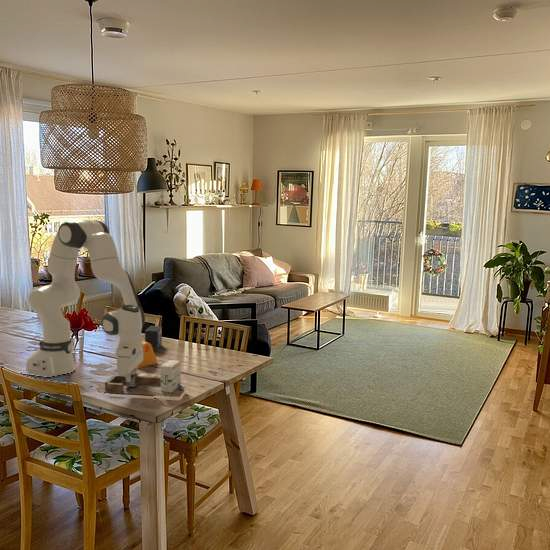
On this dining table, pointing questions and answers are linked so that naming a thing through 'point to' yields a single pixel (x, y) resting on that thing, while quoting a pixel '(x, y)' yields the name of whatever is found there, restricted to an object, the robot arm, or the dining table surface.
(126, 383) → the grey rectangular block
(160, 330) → the small box
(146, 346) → the bracket
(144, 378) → the open box
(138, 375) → the tan square plate
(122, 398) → the dining table surface
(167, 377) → the ink box
